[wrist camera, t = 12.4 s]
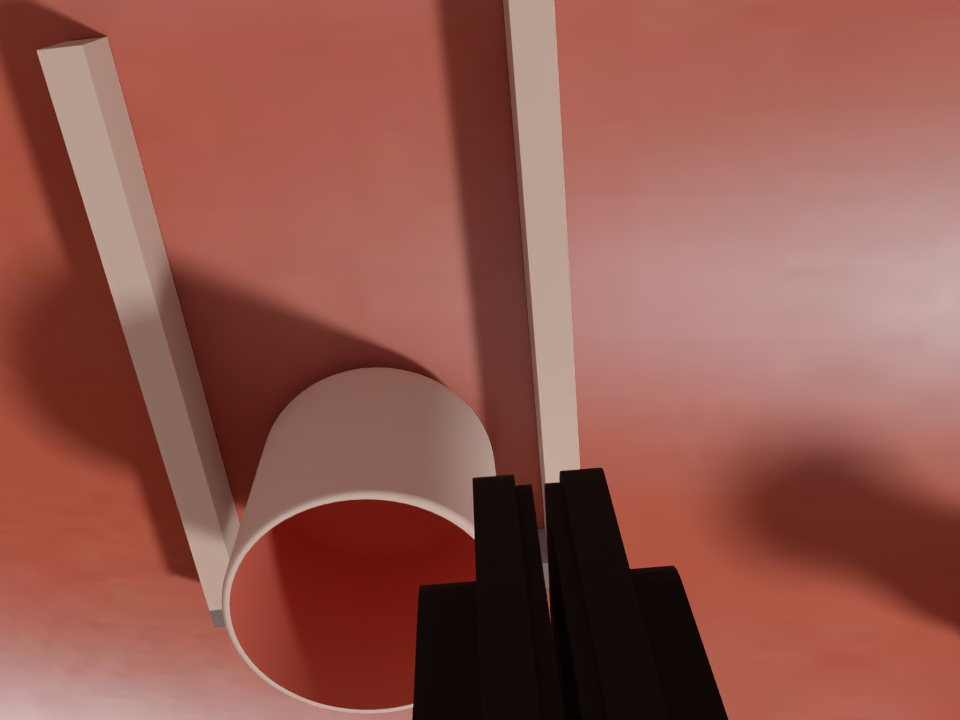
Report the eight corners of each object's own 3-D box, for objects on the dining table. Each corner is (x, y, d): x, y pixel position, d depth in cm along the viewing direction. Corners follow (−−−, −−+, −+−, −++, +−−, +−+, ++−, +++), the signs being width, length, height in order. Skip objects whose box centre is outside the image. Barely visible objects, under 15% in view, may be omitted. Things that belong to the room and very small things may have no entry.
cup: (255, 528, 40) (207, 699, 32) (282, 336, 36) (235, 470, 27) (466, 558, 42) (478, 729, 33) (515, 376, 38) (543, 515, 29)
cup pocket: (64, 41, 31) (36, 50, 28) (544, -12, 31) (553, -7, 29) (225, 590, 42) (214, 627, 40) (577, 549, 42) (586, 584, 40)
